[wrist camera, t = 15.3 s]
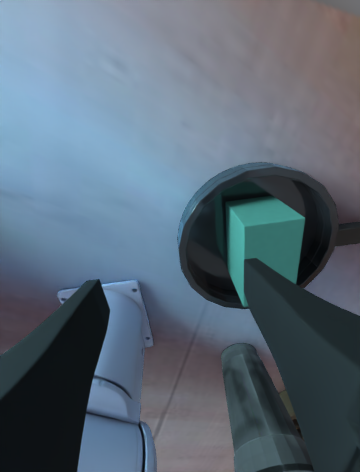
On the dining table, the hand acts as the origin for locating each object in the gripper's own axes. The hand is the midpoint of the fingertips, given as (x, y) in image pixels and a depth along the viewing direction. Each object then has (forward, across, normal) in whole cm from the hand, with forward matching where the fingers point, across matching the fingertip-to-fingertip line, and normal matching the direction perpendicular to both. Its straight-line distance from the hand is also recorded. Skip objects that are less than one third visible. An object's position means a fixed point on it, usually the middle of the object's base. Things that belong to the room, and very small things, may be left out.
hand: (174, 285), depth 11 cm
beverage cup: (+10, -6, +20) cm, 23 cm away
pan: (+9, -7, +3) cm, 12 cm away
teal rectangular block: (+9, -7, +3) cm, 11 cm away
